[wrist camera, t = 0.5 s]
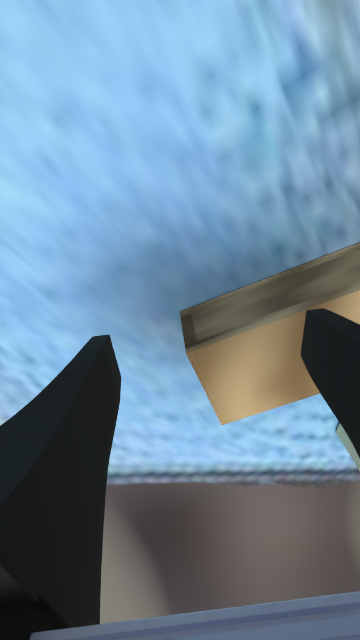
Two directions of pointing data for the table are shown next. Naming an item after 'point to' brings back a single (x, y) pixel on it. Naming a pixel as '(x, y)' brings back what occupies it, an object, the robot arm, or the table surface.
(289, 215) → the table surface
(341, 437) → the door
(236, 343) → the tan wooden crate
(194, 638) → the robot arm
